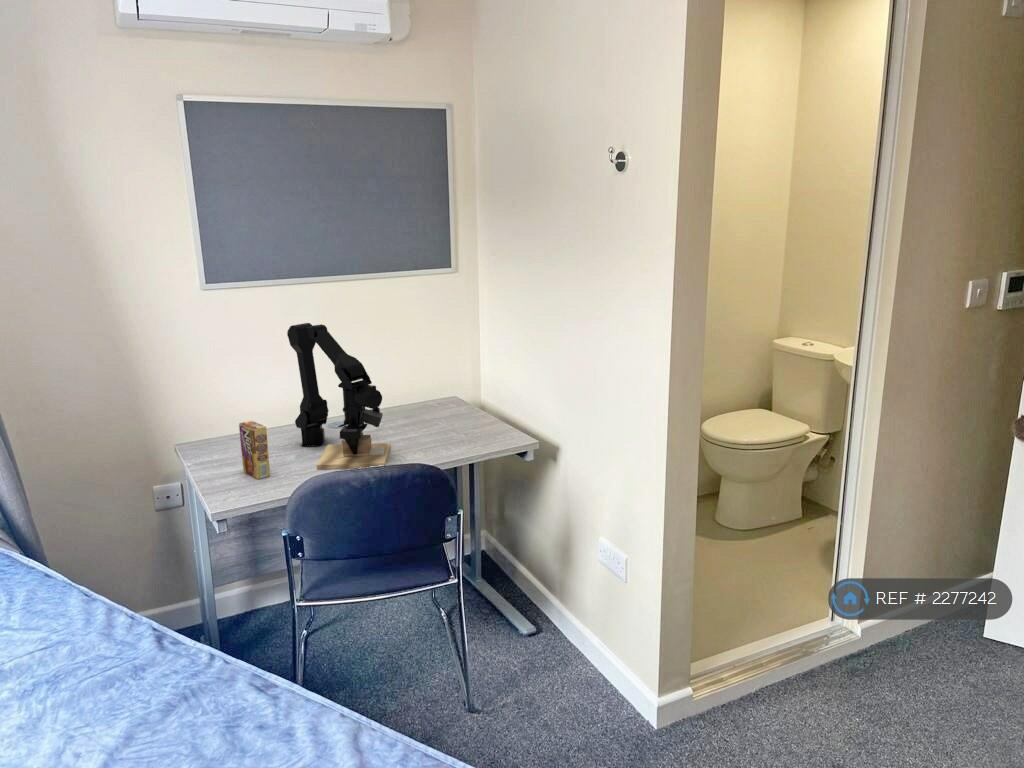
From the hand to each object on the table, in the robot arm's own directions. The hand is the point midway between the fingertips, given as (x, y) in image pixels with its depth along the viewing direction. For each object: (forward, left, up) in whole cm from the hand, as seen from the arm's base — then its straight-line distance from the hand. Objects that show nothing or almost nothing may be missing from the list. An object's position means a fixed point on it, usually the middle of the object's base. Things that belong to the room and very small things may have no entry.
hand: (356, 451), depth 232 cm
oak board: (-1, 0, -2) cm, 2 cm away
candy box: (-28, -11, -2) cm, 30 cm away
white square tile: (+6, 0, -1) cm, 6 cm away
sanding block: (0, 0, -1) cm, 1 cm away
